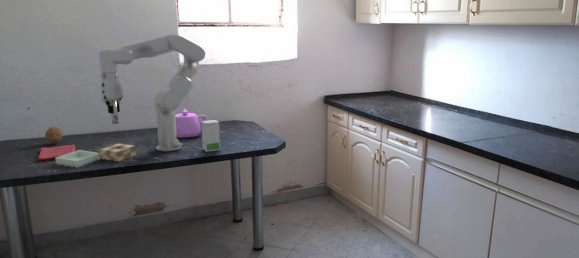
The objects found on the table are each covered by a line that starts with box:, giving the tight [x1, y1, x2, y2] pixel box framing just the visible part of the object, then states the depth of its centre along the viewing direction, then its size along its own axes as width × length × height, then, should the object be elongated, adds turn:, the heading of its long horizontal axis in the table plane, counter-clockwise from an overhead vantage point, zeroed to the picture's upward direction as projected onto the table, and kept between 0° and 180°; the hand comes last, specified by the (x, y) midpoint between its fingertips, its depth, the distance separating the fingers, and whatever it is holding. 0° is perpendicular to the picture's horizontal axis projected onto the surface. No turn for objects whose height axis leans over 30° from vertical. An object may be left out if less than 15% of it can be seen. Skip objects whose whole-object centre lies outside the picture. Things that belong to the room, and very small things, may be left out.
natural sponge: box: [44, 126, 64, 145], centre depth 245 cm, size 9×9×10 cm
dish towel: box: [36, 144, 76, 162], centre depth 228 cm, size 17×24×3 cm
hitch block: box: [99, 143, 137, 162], centre depth 221 cm, size 12×12×5 cm
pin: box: [110, 99, 120, 125], centre depth 216 cm, size 4×4×13 cm
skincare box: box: [200, 119, 221, 153], centre depth 232 cm, size 8×7×16 cm
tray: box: [55, 149, 101, 169], centre depth 214 cm, size 14×14×4 cm
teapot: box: [175, 108, 208, 139], centre depth 264 cm, size 23×21×15 cm
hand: (114, 112), depth 217 cm, fingers closed on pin, 3 cm apart
